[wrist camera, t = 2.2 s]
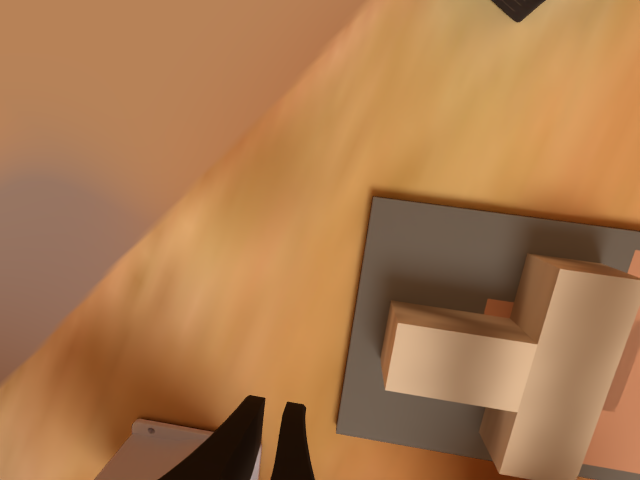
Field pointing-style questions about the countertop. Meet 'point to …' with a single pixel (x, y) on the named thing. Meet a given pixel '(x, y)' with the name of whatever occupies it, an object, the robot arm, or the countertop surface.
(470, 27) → the countertop surface
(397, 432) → the mat
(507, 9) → the small box
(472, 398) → the t block
